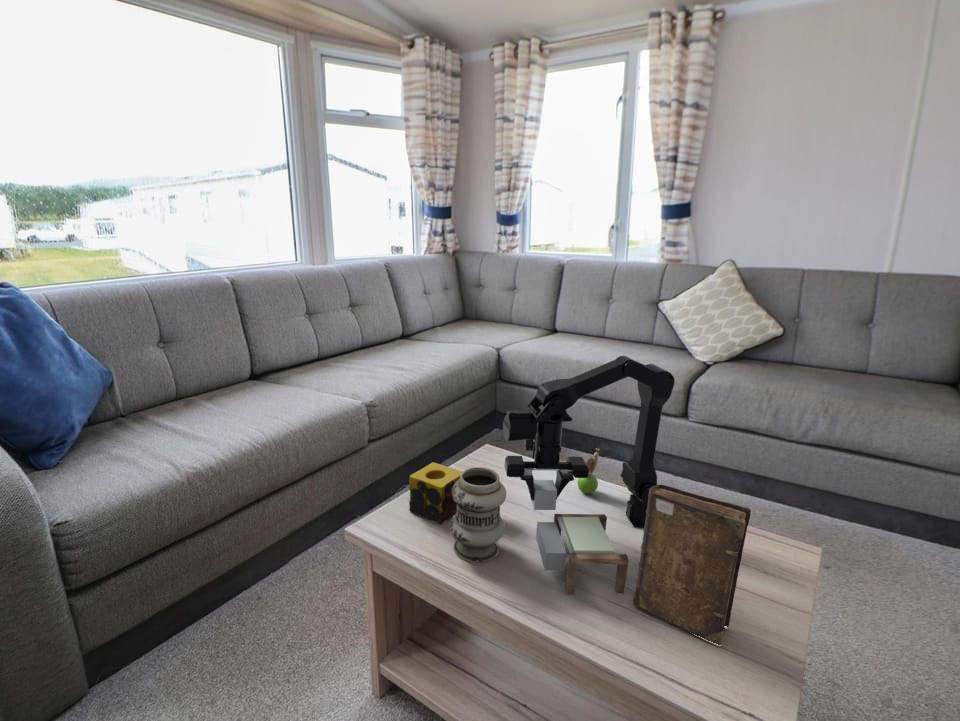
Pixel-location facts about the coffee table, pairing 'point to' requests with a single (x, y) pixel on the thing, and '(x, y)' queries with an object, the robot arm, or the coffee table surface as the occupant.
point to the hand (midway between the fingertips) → (543, 499)
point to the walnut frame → (594, 559)
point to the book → (690, 560)
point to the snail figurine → (589, 476)
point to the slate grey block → (544, 495)
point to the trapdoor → (571, 540)
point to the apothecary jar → (477, 514)
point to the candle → (433, 492)
